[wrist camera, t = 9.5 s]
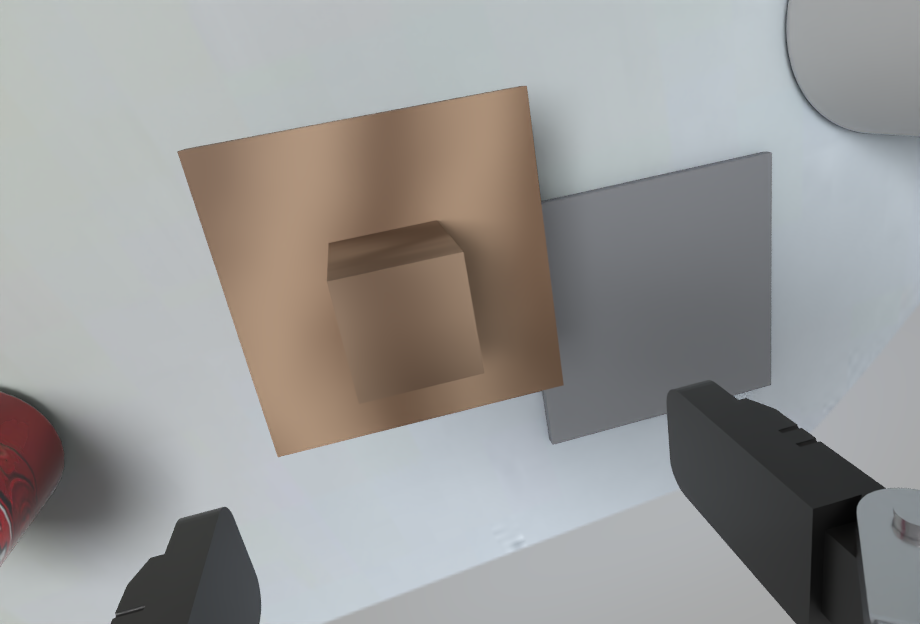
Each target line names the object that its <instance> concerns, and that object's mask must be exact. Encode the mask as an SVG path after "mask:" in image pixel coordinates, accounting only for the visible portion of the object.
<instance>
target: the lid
mask: <svg viewBox="0 0 920 624" xmlns="http://www.w3.org/2000/svg"><path fill="white" fill-rule="evenodd" d="M178 155H179V158H180V161H181V164H182V167H183V170H184V173H185V176H186V179H187V182H188V185H189V188H190V191H191V194H192V197H193V200H194V203H195V206H196V210H197V213H198V216H199V219H200V222H201V225H202V228H203V231H204V234H205V237H206V240H207V243H208V246H209V249H210V252H211V255H212V258H213V261H214V264H215V267H216V270H217V273H218V276H219V279H220V282H221V286H222V289H223V292H224V295H225V298H226V301H227V304H228V307H229V310H230V313H231V316H232V319H233V322H234V325H235V328H236V331H237V334H238V337H239V340H240V343H241V346H242V349H243V352H244V355H245V358H246V362H247V365H248V368H249V371H250V374H251V377H252V380H253V383H254V386H255V389H256V392H257V395H258V398H259V401H260V404H261V407H262V410H263V413H264V416H265V419H266V422H267V425H268V428H269V431H270V434H271V438H272V441H273V444H274V447H275V450H276V453H277V456H278V457H281V456H285V455H289V454H293V453H297V452H301V451H305V450H308V449H312V448H316V447H320V446H324V445H328V444H332V443H336V442H340V441H344V440H348V439H352V438H356V437H360V436H364V435H368V434H372V433H376V432H380V431H384V430H388V429H392V428H396V427H400V426H404V425H408V424H412V423H416V422H420V421H424V420H428V419H432V418H436V417H440V416H444V415H448V414H452V413H456V412H460V411H464V410H468V409H472V408H476V407H480V406H483V405H487V404H491V403H495V402H499V401H503V400H507V399H511V398H515V397H519V396H523V395H527V394H531V393H535V392H539V391H543V390H547V389H551V388H555V387H559V386H563V385H564V383H563V375H562V367H561V359H560V351H559V343H558V335H557V327H556V319H555V311H554V302H553V294H552V286H551V278H550V270H549V262H548V254H547V246H546V238H545V230H544V222H543V213H542V205H541V197H540V189H539V181H538V173H537V165H536V157H535V149H534V141H533V132H532V124H531V116H530V108H529V100H528V92H527V86H518V87H513V88H508V89H502V90H497V91H492V92H486V93H481V94H476V95H470V96H465V97H460V98H455V99H449V100H444V101H439V102H433V103H428V104H423V105H417V106H412V107H407V108H401V109H396V110H391V111H385V112H380V113H375V114H369V115H364V116H359V117H353V118H348V119H343V120H337V121H332V122H327V123H322V124H316V125H311V126H306V127H300V128H295V129H290V130H284V131H279V132H274V133H268V134H263V135H258V136H252V137H247V138H242V139H236V140H231V141H226V142H220V143H215V144H210V145H204V146H199V147H194V148H188V149H184V150H181V151H178Z"/></svg>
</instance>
